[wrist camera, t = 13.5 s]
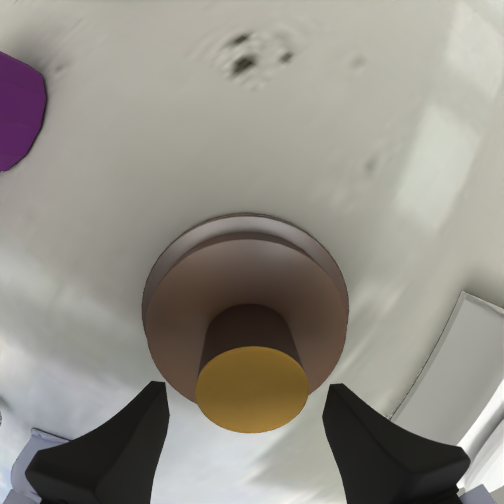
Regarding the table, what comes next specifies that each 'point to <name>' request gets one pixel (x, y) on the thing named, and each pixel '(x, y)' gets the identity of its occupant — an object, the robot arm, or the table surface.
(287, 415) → the coffee pod
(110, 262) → the table surface
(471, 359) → the butter dish
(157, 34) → the table surface
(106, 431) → the robot arm
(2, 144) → the mug
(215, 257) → the pod stand
